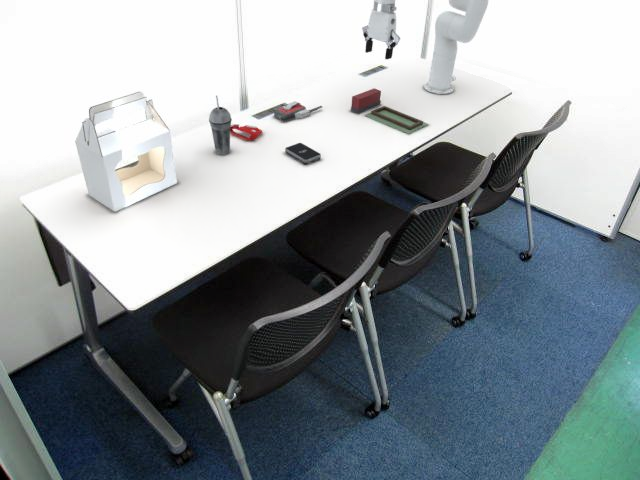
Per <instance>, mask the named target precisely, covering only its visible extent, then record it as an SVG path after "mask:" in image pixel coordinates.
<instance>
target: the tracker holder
mask: <svg viewBox="0 0 640 480" xmlns="http://www.w3.org/2000/svg"><path fill="white" fill-rule="evenodd" d="M235 130H237V131H240V132H243V133H246V134H248V135H249V136H248V137H247V136H245V135H242V134H240V133H238V132H236V131H235ZM230 134H232V136H233V135H234V136H235V137H237V138H240V139H243V140H245V141H255V140H256V139H257V138H258V137H259V136H260V135H262V134H263V130H262V129H260V128H259V127H257V126H254V125H251V124H249V125H247V124H246V125H244V126H242V125H241V126H240V124H239V123H233V124H231V126H230Z"/></svg>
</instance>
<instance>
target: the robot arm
mask: <svg viewBox="0 0 640 480" xmlns="http://www.w3.org/2000/svg"><path fill="white" fill-rule="evenodd" d="M448 4H449V6H450V7H451V8H453V9H455V10H457V11H461V12H464V13H465V14H461V13H457V12H455V11H451V10H447V11H442V12H441V13H440V14H438V15H437V17H436V20H435V23H434V33H435V34H434V35H435V36H434V46H433V52H432V58H431V64H430V71H429V75H428V76H429V77H428V81H427V82H425V83H424V85H423V88H424V90H426V91H427V92H429V93H431V94H432V93H433V94H437V95H449V94H451V93H453V92H454V90H455V89H454V86H453V85H452V83H453V82H455V81H457V77H456V76H455V75H453V74H454V70H455V63H456V58H457V53H458V42H459V43H461V44H468V43H470V42H471V41H473V39H474V38H475V37H476V34H477V32H478V30H479V28H480V25H481V23H482V21H483V18H484V16H485V13H486V11H487V8H488V5H489V0H448ZM396 11H397V6H396V0H373V7H372V9H371V12H370V14H369V18H368V24H367V25H364V26H362V28H361V29H362V33H363V34H362V35H363V38H364V41H365V50H364V51H365V53H367V54H368V53H372V52H373V47H374V46H373V45H374V40H376V41H379V42H383V43H385V45H386V47H387V48H386V49H385V54H384V55H385V56H384V60H391V59H392V57H393V53H394V48H395V47H397V45H398V44H399V43H400V40H401V37H400V35H398V33H397V13H396Z"/></svg>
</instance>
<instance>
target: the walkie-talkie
mask: <svg viewBox="0 0 640 480" xmlns="http://www.w3.org/2000/svg"><path fill="white" fill-rule="evenodd" d="M322 108H323V106H322V105H319V106H317V107H314V108H312V109H307V107H306V106H305V105H302V104H301V102H298V101H297V100H296V101H292V102H289V103H288V104H287V105H284V106H281V107H279V108H276V109H274V110H273V117H274V118H275V119H277V120H279V121H281V122H288V121H291V120H293V119H303V118H306V117H309V116H310V114H311V113H313V112H316V111H318V110H320V109H322Z"/></svg>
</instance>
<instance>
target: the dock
mask: <svg viewBox="0 0 640 480" xmlns="http://www.w3.org/2000/svg"><path fill="white" fill-rule="evenodd" d="M365 117H367V118H369V119H371V120H373V121H375V122H378V123H381V124H383V125H385V126H388V127H390V128H393V129H395V130H397V131H399V132H402V133H405V134H407V135H410V134H412V133H414V132H416V131H418V130H421V129H423V128H425V127H428V126H429V123H427V122H425V121H423V120H422V119H421V120H420V119H418V118H417V117H413V116H411V115H409V114H406V113H403V112H401V111H399V110H396V109H393V108H391V107H388V106H387V105H383V106H381V107H377V108H375V109H373V110H371V111H370V112H369V113H366V114H365Z"/></svg>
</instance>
